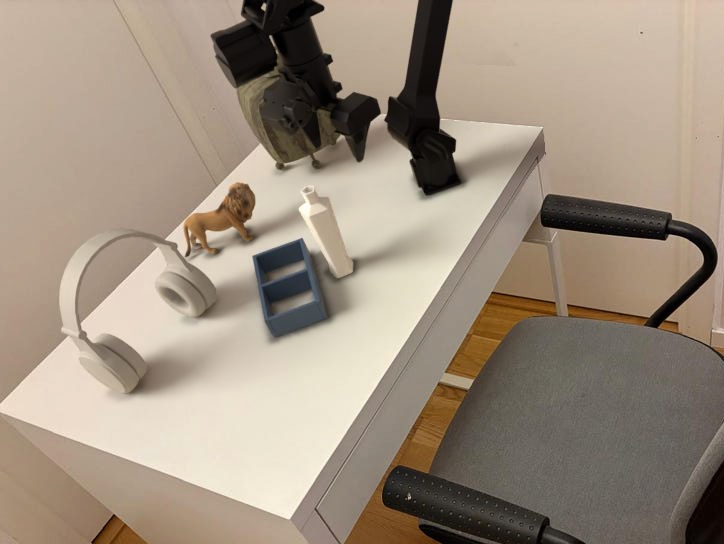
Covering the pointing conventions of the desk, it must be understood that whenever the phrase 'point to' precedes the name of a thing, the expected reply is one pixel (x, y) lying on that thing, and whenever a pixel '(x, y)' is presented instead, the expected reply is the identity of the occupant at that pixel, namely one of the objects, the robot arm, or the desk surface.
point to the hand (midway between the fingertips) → (339, 153)
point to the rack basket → (288, 288)
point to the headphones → (107, 352)
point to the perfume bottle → (325, 231)
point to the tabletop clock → (279, 142)
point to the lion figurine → (222, 218)
